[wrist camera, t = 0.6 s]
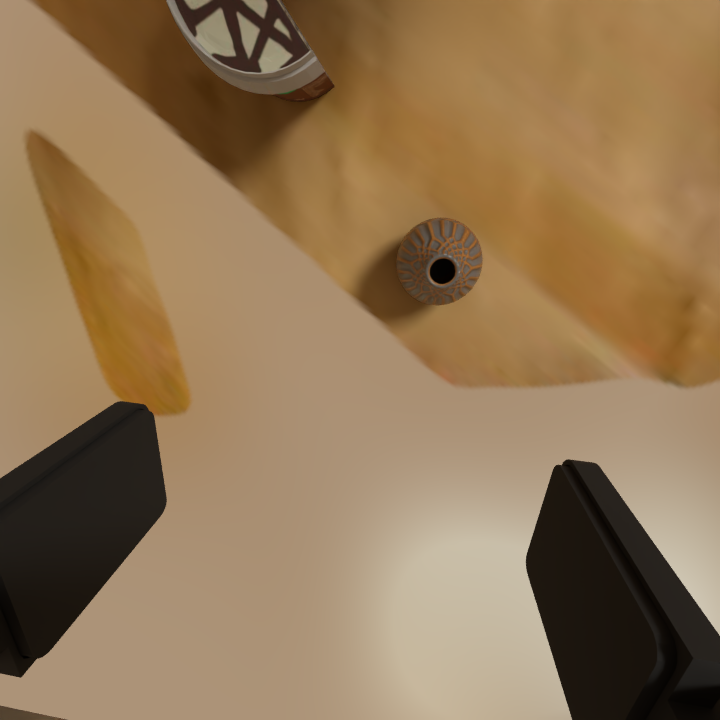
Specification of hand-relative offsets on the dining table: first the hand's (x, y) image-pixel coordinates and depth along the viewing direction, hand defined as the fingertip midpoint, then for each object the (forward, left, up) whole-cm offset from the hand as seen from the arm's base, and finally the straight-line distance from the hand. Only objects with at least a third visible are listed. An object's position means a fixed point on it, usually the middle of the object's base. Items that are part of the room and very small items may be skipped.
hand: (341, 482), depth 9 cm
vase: (-4, +1, -30) cm, 30 cm away
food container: (-3, -20, -30) cm, 36 cm away
